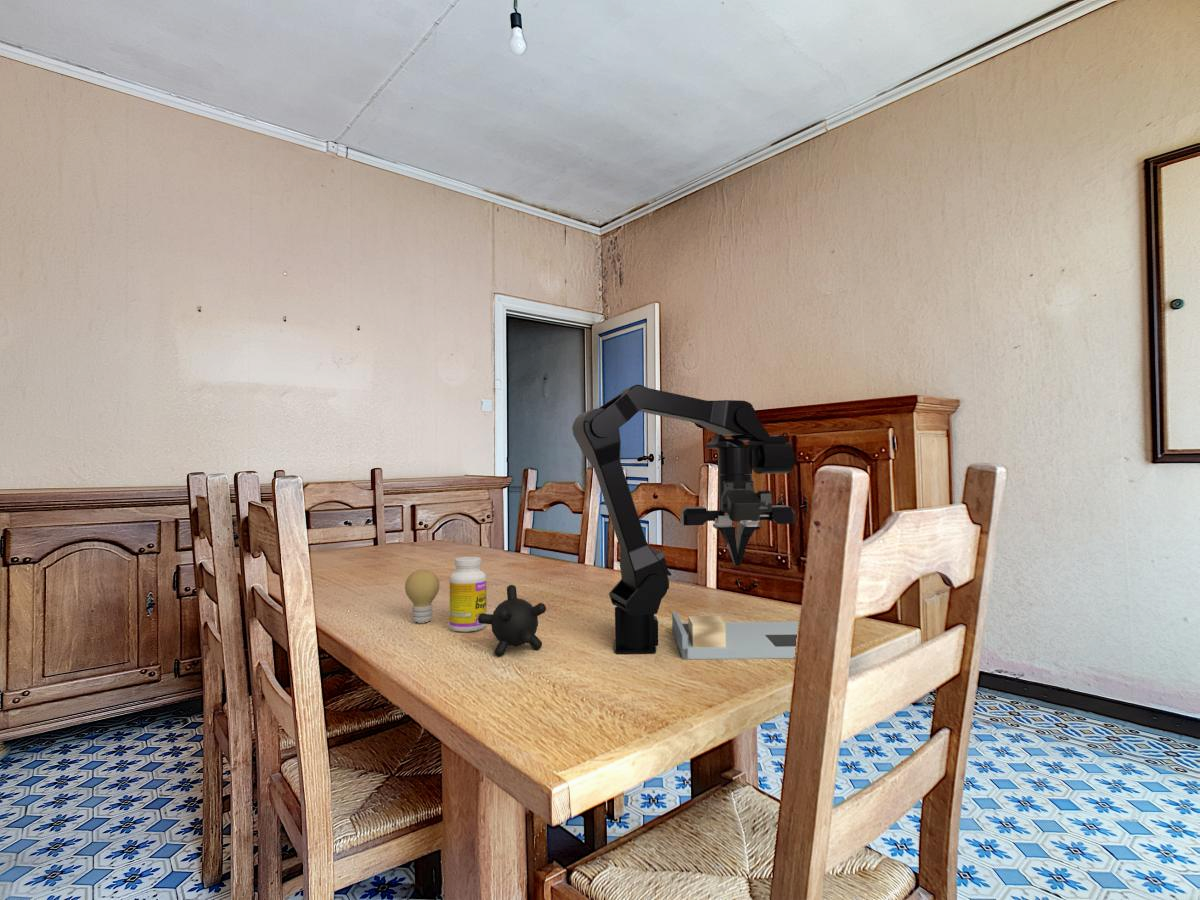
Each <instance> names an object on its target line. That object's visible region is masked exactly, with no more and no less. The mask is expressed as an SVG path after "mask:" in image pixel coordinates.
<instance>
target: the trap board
mask: <svg viewBox="0 0 1200 900" xmlns="http://www.w3.org/2000/svg"><path fill="white" fill-rule="evenodd" d="M671 623H672V624H671V627H672V629H671V630H672V635H673V637H674V640H675V643H676V646H677V649H678V651H679V653H680V656H681V659H682V660H734V659H735V660H736V659H737V660H742V659H743V660H747V659H749V660H750V659H751V660H752V659H755V660H757V659H758V660H762V659H795V658H794V655H795V648H796V638H797V628H798V620H796V621H795V620H794V621H738V622H737V621H734V622H732V621H731V622H729V621H726V622H725V621H724V623H725V630H726V647H693V646H692V644H691V642H690V640H689V629H688V622H682V620H681V618H680V616H679V614H678V612H677V610H675V611H671Z"/></svg>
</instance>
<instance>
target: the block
mask: <svg viewBox="0 0 1200 900" xmlns="http://www.w3.org/2000/svg"><path fill="white" fill-rule="evenodd" d="M687 621H688V622H687V623H688V629H689V640H690V642H691V644H692V646H693V647H726V630H725V623H724V622H725V621H724V620H723V618H722V617H721V616H720V615H688V617H687Z"/></svg>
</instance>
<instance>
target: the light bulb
mask: <svg viewBox="0 0 1200 900" xmlns="http://www.w3.org/2000/svg"><path fill="white" fill-rule="evenodd" d="M404 590H405V594H406V596H407V597H408V599H409V600H410V601H411V603H412V604H413V605H412V608H411V609H412V612H411V613H412V618H411V619H412V621H413V622H414V621H415V622H426V621H430V620H431V621H432V620H433V619H434V616H433V613H434V612H433V604H432V603H433V602H434V601H433V600H435V598H436V596H437V595H438V593H439V590H440V579H439V577H438V576H437V575H436V574H435V572H434V571H431V570H429V569H418V570H415V571H413V572H412V573H410V574H409V576H407V578H406V581H405V584H404ZM431 621H430V622H431ZM415 622H414V623H415Z"/></svg>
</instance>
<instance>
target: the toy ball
mask: <svg viewBox="0 0 1200 900" xmlns="http://www.w3.org/2000/svg"><path fill="white" fill-rule="evenodd" d="M517 594H518V593H517V587H516V586H515V585H514V584H509V585H508V586H507V587H506V597H507V599H505V600H503V601H502V602H501V603H499V604H498V605H497V606H496V608H495V609H494V611H493V613H492V614H491V613H487V614H480V615H479V616H478V622H479V623H481V624H486V625H491V632H492V634H493V636H494V637H495V639H496V640H497V641H498V643H497V645H495V646H496V647H495V649H494V650H493V651H494V654H495V655H496V657H503V656H504V655H505V653H506V652H507V650H508V648H509V647H521V646H523V645H525V644H527V645H528V644H529V645H530V646H531V648H533V649H534V650H536V651H537V650H540V649H541V648H542V646H543V642H542V640H541V639H540V638H539V637H538V636H537V635H536V633H537V630H538V626H539V617H538V616H541V615H542V614H545V612H546V610H547V607H546V604H545V603H542V602H539V603H537V604H536V605H534V606H533V605H532V604H531V603H530V602H528V601H527V600H525V599H523V598H518V597H517Z"/></svg>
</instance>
